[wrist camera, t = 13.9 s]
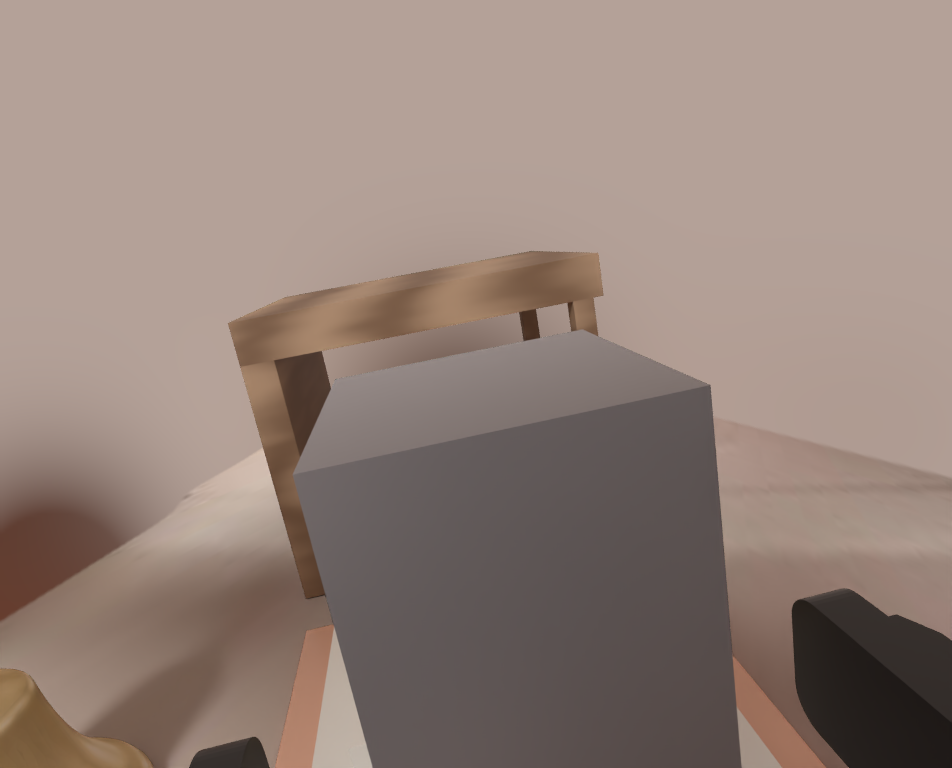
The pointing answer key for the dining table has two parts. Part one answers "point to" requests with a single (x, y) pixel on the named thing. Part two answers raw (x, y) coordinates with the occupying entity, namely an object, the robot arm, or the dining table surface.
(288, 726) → the pad
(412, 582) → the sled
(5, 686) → the hand bell
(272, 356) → the small wooden table
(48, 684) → the dining table surface
